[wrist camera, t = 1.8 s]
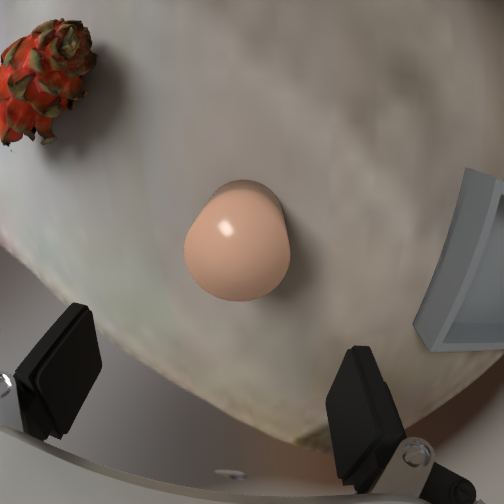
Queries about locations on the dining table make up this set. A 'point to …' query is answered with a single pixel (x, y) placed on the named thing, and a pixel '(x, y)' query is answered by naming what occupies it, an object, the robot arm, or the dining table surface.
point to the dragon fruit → (43, 78)
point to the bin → (468, 274)
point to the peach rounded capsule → (239, 243)
